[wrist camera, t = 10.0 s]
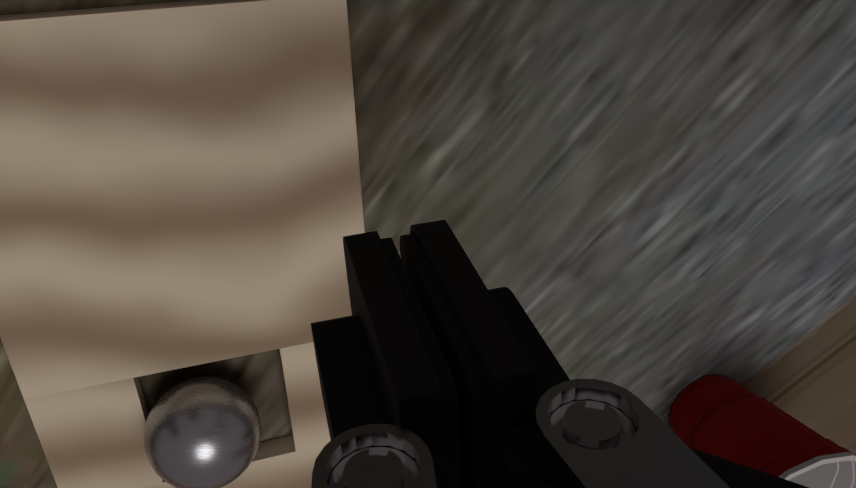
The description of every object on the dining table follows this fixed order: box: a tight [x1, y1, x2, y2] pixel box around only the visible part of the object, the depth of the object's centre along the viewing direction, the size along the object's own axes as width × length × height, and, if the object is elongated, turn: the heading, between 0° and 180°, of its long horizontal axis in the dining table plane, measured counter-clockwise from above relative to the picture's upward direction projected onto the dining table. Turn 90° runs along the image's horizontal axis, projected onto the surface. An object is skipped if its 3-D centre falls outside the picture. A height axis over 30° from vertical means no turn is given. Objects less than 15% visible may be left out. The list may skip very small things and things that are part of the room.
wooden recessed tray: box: [0, 0, 365, 488], centre depth 37 cm, size 30×18×2 cm, turn 2°
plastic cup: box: [669, 375, 856, 488], centre depth 49 cm, size 11×11×12 cm
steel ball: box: [144, 376, 261, 488], centre depth 38 cm, size 6×6×6 cm
